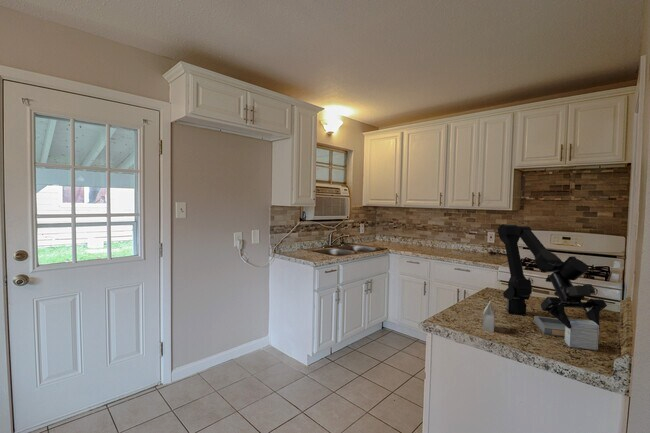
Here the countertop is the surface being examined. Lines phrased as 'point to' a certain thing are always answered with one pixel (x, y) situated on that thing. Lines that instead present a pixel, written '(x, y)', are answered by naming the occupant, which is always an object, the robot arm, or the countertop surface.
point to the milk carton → (489, 318)
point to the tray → (550, 326)
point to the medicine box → (582, 334)
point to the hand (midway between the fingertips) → (584, 328)
